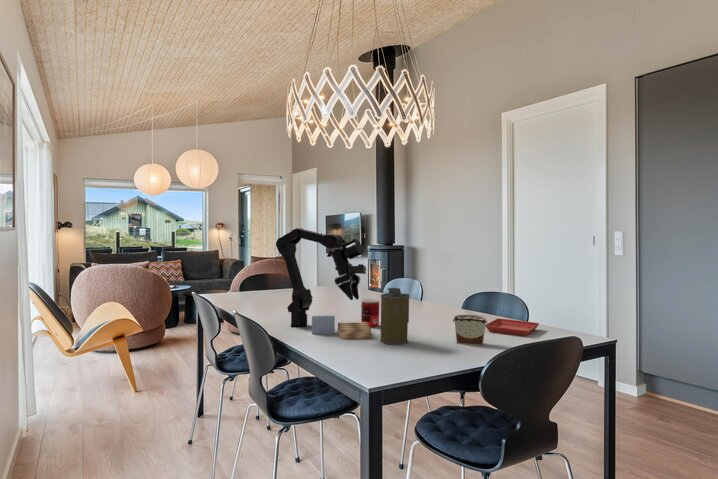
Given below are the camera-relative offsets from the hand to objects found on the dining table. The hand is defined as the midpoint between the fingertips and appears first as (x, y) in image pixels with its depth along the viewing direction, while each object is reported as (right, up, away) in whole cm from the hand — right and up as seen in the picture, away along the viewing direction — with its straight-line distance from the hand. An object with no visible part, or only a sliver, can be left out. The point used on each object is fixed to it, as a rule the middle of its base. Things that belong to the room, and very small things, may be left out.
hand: (354, 299), depth 190 cm
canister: (+15, -14, -13) cm, 25 cm away
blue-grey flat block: (-13, -14, -1) cm, 19 cm away
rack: (0, -14, -3) cm, 14 cm away
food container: (+43, -14, -14) cm, 48 cm away
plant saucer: (+66, -15, +8) cm, 68 cm away
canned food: (+6, -14, +16) cm, 22 cm away
